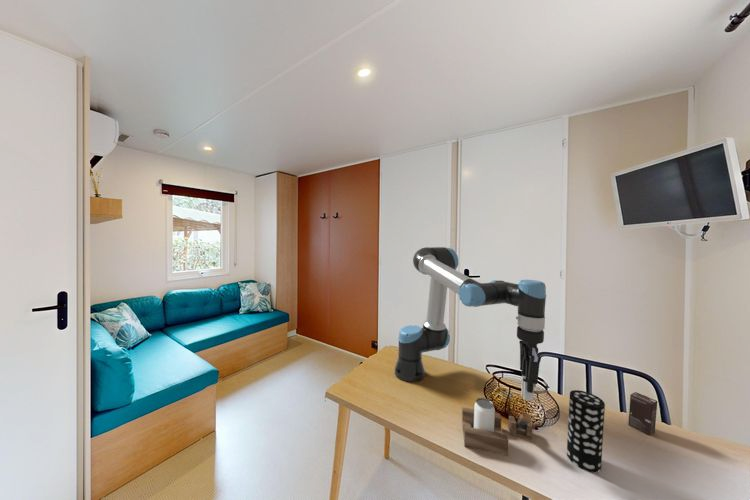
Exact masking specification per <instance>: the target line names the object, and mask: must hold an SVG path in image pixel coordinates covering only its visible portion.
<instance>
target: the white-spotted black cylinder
mask: <svg viewBox="0 0 750 500" xmlns="http://www.w3.org/2000/svg"><path fill="white" fill-rule="evenodd" d="M605 407H606V403H605V401H604V400H603V399H601V398H600V397H599V396H597V395H595V394H592V393H590V392H588V391H583V390H577V389H575V390H570V392H569V403H568V419H567V420H568V423H567V424H568V425H567V440H566V441H567V443H566V456H567V458H568V459H569V460H570V462H571V463H572V464H574V465H575V466H577V467H578V468H580V469H581V470H584V471H585V472H588V473H589V472H590V473H594V472H596V473H599V472H598V471H600V470H602V461H603V459H602V458H603V457H602V456H603V442H604V440H603V439H604V428H605V427H604V426H605V410H606V408H605ZM600 472H601V471H600Z"/></svg>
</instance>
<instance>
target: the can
mask: <svg viewBox="0 0 750 500" xmlns="http://www.w3.org/2000/svg"><path fill="white" fill-rule="evenodd" d="M494 406H495V405H494V403H493V402H492V401H491V400H490V399H487V398H484V397H478V398H477V399H476V400H475V403H474V408H473V409H474V427H473V428H476V429H481V430H486V431H491V432H494V419H495V413H496V411H495V407H494Z"/></svg>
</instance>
